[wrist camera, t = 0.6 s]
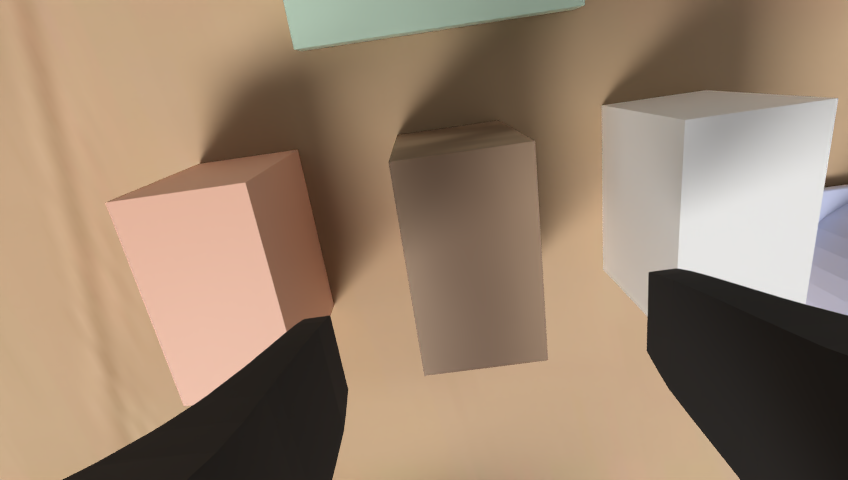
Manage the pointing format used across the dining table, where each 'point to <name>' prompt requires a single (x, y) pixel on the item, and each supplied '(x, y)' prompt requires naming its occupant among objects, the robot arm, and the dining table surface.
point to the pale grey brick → (715, 188)
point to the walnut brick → (472, 245)
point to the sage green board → (400, 17)
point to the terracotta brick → (223, 263)
